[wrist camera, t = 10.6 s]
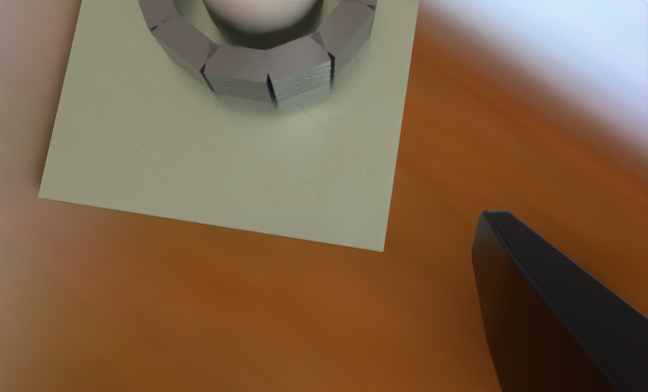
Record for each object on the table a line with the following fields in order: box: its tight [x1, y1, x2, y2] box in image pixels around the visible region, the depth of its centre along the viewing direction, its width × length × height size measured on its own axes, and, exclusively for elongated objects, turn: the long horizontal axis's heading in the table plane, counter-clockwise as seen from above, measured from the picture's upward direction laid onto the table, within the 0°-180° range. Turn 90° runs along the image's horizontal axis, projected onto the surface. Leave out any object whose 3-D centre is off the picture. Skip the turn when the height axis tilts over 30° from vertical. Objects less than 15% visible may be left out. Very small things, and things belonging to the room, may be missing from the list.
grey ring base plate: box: [38, 0, 419, 252], centre depth 21 cm, size 15×14×4 cm
